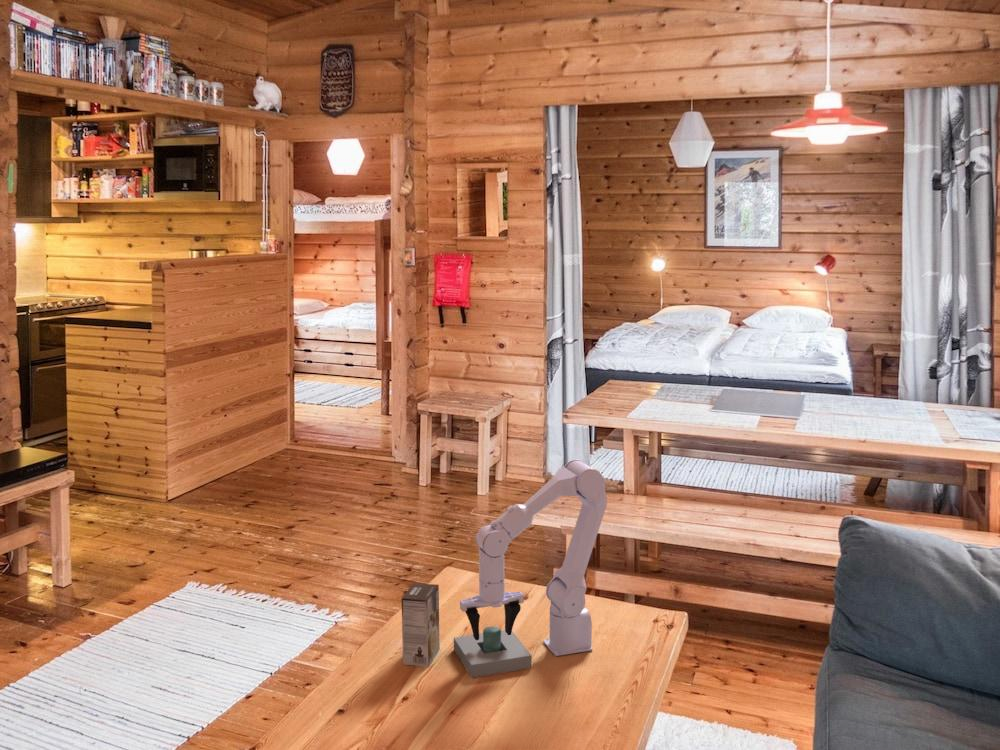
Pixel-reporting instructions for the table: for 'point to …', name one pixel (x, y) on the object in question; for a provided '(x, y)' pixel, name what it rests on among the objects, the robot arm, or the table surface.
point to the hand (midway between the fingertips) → (492, 635)
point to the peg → (491, 639)
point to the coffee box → (420, 624)
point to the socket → (492, 655)
